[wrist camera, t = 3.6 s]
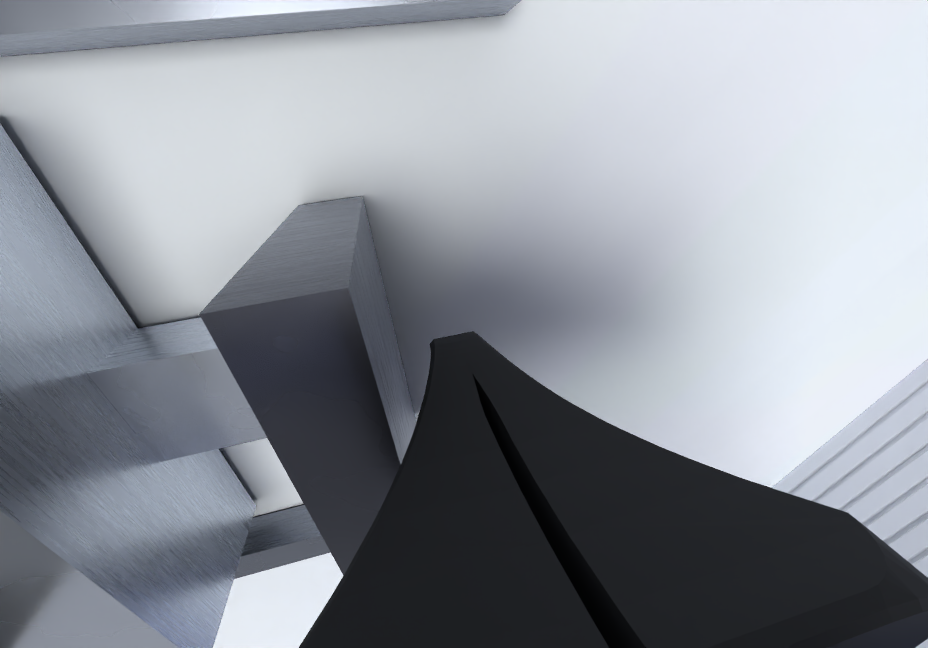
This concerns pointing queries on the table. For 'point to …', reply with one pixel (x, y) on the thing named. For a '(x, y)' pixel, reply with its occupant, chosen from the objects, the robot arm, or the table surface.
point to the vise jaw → (179, 422)
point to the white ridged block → (878, 470)
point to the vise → (210, 17)
